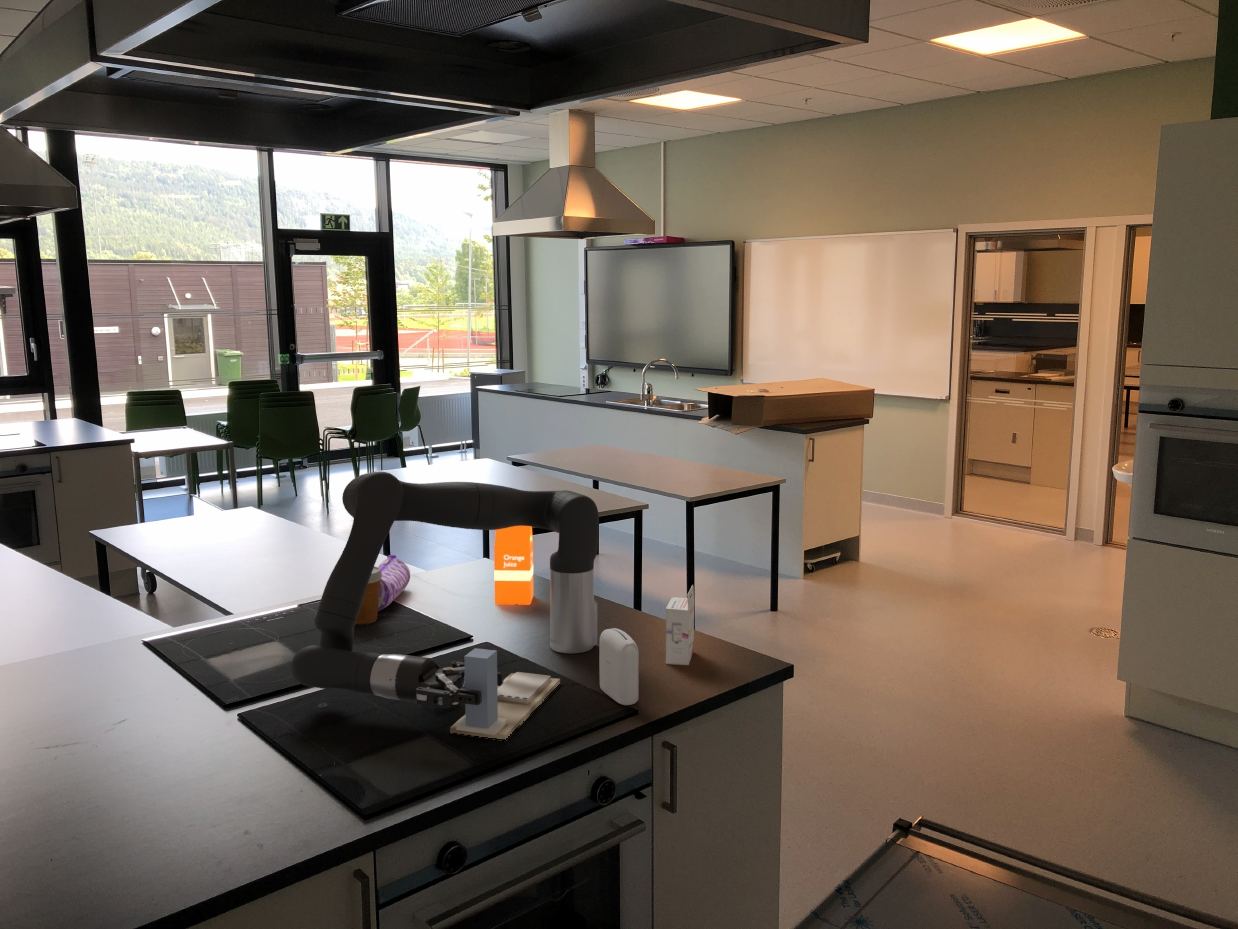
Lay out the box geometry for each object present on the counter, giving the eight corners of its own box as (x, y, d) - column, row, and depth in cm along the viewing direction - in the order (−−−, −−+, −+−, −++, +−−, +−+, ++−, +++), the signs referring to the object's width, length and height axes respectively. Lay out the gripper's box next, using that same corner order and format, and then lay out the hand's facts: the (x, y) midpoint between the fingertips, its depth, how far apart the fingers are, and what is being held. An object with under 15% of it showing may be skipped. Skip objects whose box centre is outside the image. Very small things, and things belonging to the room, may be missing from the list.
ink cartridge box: (670, 650, 197) (671, 582, 195) (694, 652, 196) (695, 583, 194) (664, 664, 189) (665, 593, 186) (688, 666, 188) (690, 595, 185)
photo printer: (596, 688, 176) (596, 624, 174) (616, 684, 178) (617, 621, 176) (620, 708, 167) (620, 641, 165) (641, 704, 169) (642, 638, 167)
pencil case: (376, 588, 242) (375, 553, 241) (412, 588, 242) (411, 553, 241) (354, 614, 220) (352, 575, 219) (393, 614, 221) (392, 575, 219)
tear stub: (469, 717, 159) (468, 646, 157) (507, 723, 157) (506, 650, 155) (456, 729, 155) (454, 656, 153) (495, 735, 153) (494, 660, 151)
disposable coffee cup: (392, 619, 217) (391, 568, 215) (361, 630, 209) (359, 578, 207) (364, 612, 222) (362, 563, 220) (332, 622, 214) (330, 571, 212)
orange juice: (530, 604, 228) (529, 524, 226) (494, 604, 229) (493, 524, 226) (533, 595, 236) (533, 518, 233) (498, 595, 236) (498, 517, 233)
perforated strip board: (511, 678, 181) (511, 668, 180) (560, 684, 178) (560, 674, 177) (450, 733, 156) (450, 722, 156) (505, 741, 153) (505, 730, 153)
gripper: (381, 671, 152) (473, 682, 147) (424, 643, 165) (508, 652, 161) (383, 715, 153) (473, 727, 148) (425, 683, 166) (509, 694, 162)
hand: (491, 688), depth 154 cm, fingers open, 8 cm apart
